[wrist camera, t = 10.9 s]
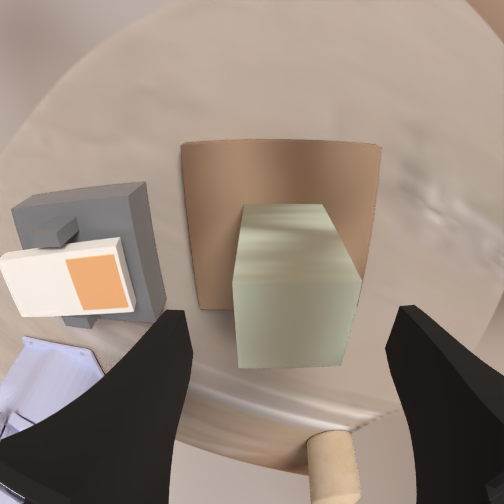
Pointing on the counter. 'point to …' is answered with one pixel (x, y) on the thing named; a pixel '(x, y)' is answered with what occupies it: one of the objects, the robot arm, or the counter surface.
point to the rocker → (70, 279)
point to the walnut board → (272, 197)
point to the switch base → (99, 237)
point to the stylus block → (292, 288)
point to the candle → (333, 468)
